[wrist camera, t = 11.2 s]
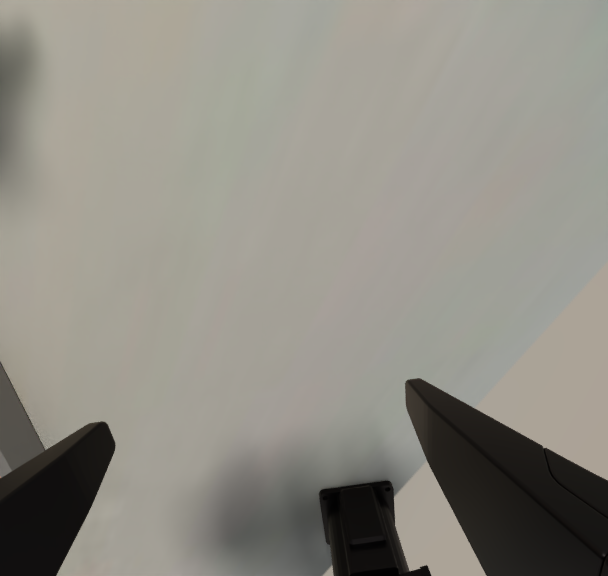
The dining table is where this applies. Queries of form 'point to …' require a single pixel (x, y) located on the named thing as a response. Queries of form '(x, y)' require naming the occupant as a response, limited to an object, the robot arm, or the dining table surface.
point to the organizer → (15, 430)
